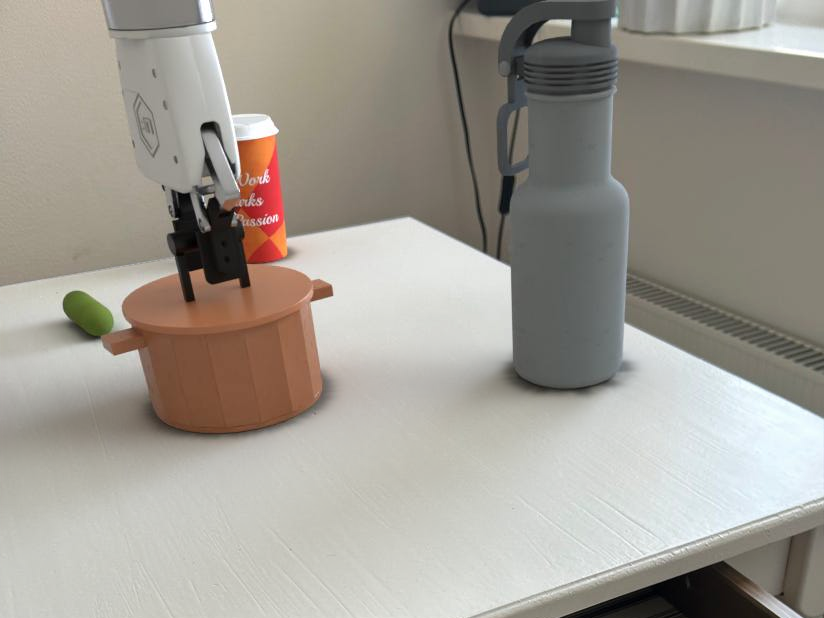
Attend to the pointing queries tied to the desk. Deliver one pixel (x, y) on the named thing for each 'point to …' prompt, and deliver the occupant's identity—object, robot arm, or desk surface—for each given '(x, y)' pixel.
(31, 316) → the desk surface
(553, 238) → the water bottle
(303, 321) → the pot
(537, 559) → the desk surface
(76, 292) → the pickle
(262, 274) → the lid
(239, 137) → the coffee cup
